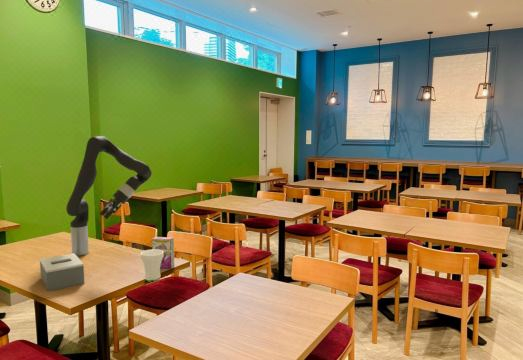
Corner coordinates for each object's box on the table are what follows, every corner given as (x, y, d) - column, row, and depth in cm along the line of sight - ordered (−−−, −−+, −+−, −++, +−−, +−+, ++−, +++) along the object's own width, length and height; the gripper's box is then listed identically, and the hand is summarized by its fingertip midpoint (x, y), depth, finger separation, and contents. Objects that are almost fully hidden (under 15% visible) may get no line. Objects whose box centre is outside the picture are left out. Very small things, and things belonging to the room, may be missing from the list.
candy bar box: (151, 268, 210) (151, 239, 208) (155, 264, 215) (154, 236, 213) (171, 268, 209) (171, 239, 207) (174, 265, 214) (174, 237, 212)
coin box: (41, 278, 194) (39, 259, 193) (75, 271, 204) (74, 253, 203) (47, 291, 179) (46, 270, 177) (84, 283, 188) (83, 263, 187)
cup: (157, 273, 202) (156, 247, 200) (168, 279, 194) (167, 252, 192) (137, 279, 194) (136, 252, 192) (147, 285, 186) (147, 257, 184)
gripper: (115, 187, 214) (94, 209, 209) (123, 190, 203) (101, 214, 198) (125, 196, 218) (104, 218, 213) (133, 199, 207) (112, 223, 202)
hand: (103, 216), depth 205 cm, fingers open, 8 cm apart
